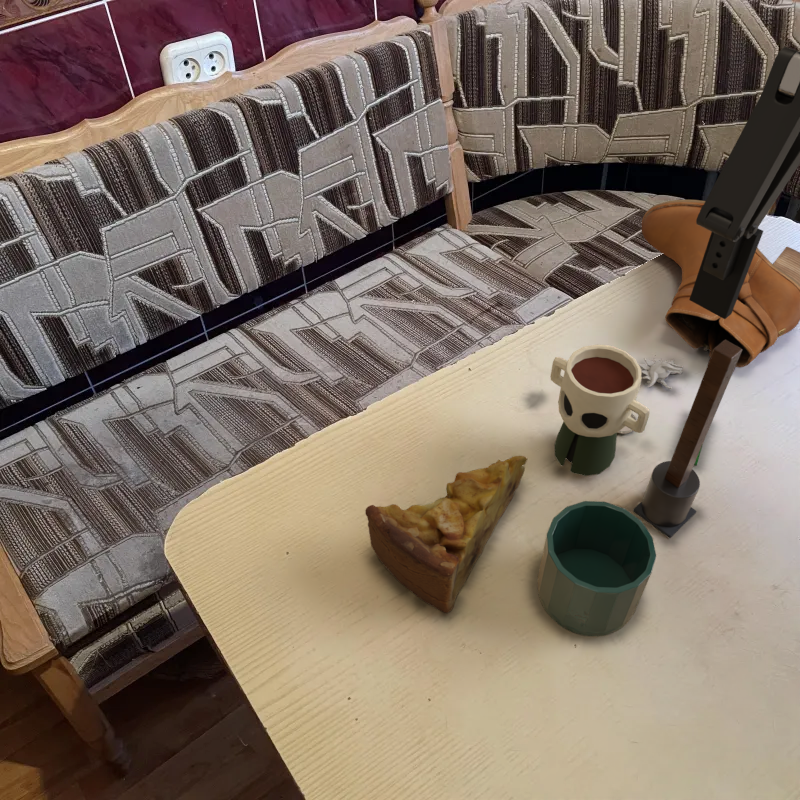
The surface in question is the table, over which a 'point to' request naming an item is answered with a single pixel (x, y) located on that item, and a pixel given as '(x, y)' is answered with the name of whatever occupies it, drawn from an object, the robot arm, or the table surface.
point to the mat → (665, 530)
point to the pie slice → (444, 531)
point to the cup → (594, 567)
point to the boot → (759, 296)
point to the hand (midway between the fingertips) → (764, 264)
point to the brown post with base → (689, 445)
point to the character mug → (596, 405)
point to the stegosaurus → (659, 371)
